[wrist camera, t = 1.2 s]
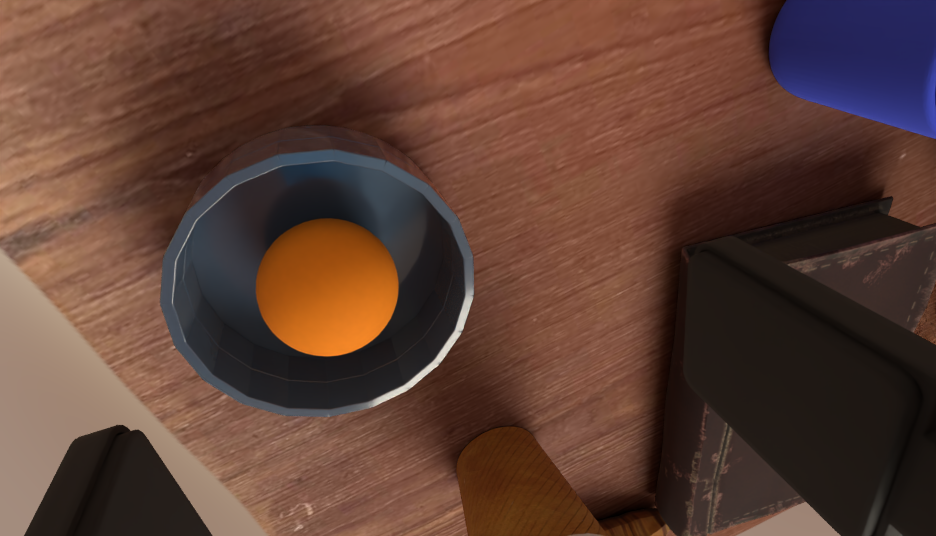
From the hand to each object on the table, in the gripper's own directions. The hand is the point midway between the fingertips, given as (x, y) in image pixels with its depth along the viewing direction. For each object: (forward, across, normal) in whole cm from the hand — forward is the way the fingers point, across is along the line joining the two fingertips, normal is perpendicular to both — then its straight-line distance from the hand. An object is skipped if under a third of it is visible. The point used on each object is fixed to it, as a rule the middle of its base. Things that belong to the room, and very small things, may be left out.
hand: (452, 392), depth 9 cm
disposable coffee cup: (+20, -4, +25) cm, 32 cm away
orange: (+16, +3, +6) cm, 17 cm away
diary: (+20, -26, +25) cm, 41 cm away
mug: (+20, -28, +1) cm, 35 cm away
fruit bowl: (+19, +3, +6) cm, 20 cm away
